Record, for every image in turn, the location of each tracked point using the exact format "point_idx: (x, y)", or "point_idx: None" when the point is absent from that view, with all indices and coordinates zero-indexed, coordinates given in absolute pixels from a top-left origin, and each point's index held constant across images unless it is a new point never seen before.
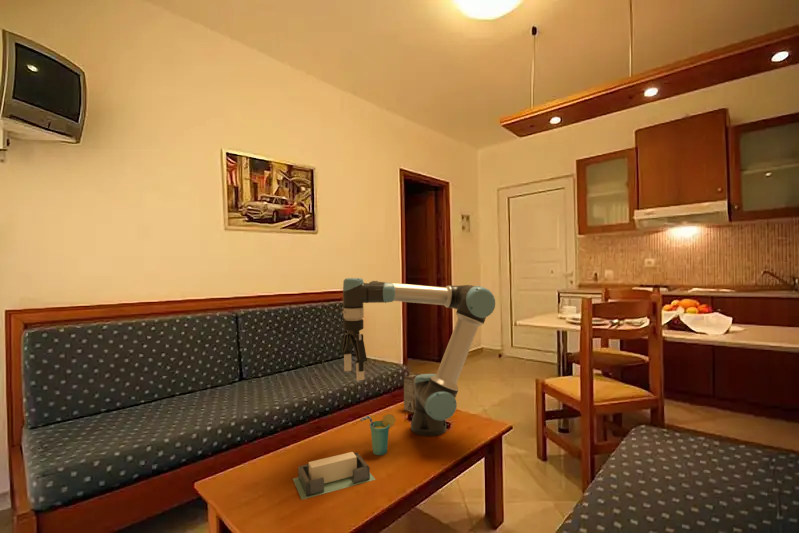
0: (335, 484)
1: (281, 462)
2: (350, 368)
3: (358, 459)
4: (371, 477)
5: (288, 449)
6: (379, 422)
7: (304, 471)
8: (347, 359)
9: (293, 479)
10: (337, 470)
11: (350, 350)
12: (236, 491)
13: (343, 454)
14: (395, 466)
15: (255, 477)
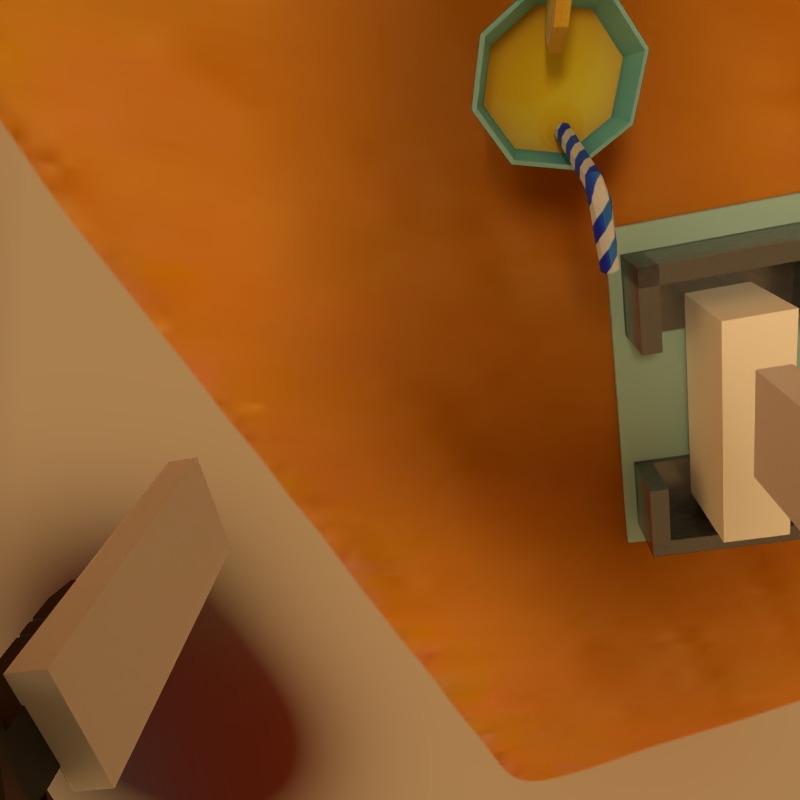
0: None
1: (458, 572)
2: (188, 490)
3: (714, 274)
4: (797, 205)
5: (339, 544)
6: (484, 64)
7: (714, 536)
8: (140, 650)
9: (637, 540)
10: None
11: (11, 782)
12: (622, 698)
13: (728, 375)
14: (734, 24)
15: (547, 652)
